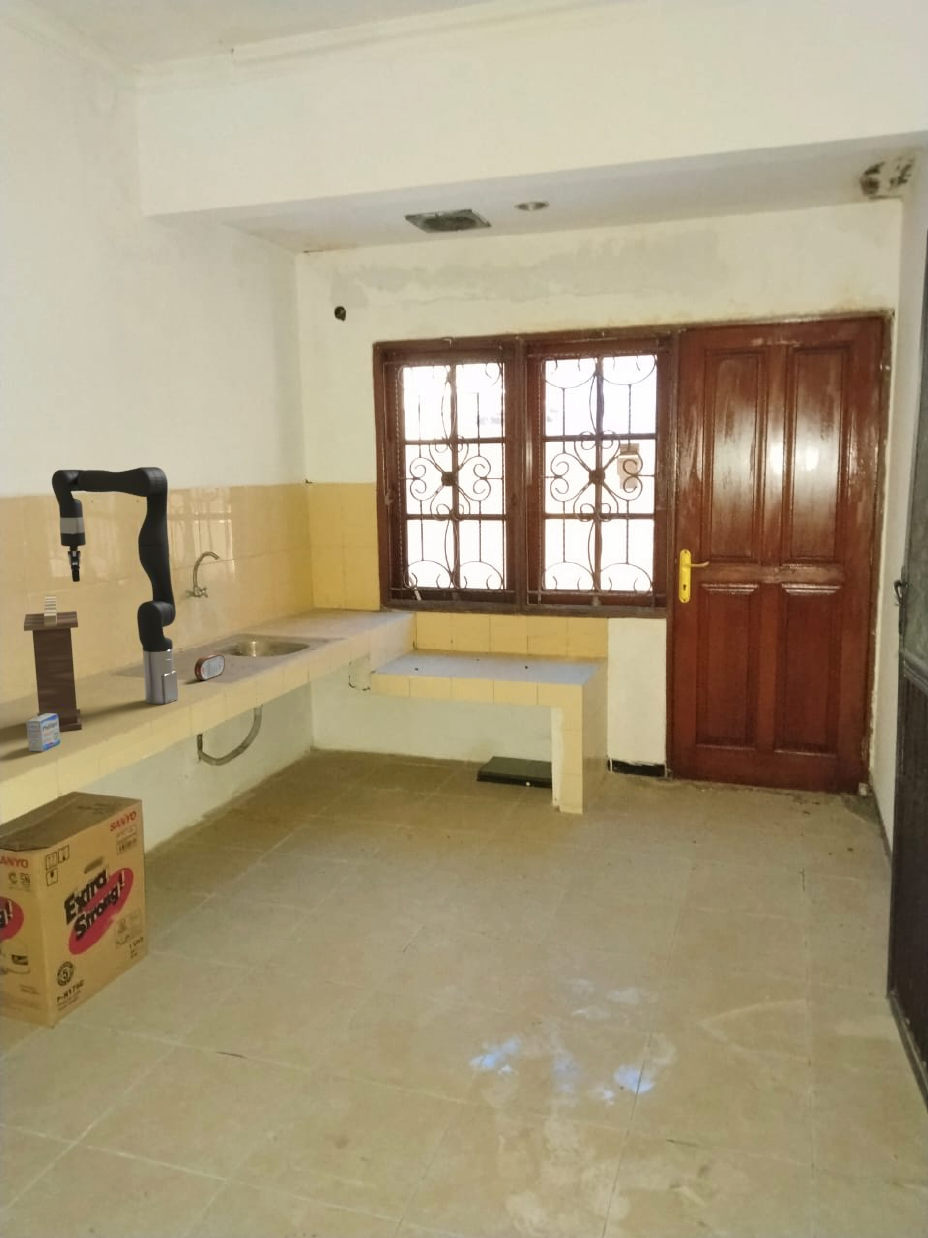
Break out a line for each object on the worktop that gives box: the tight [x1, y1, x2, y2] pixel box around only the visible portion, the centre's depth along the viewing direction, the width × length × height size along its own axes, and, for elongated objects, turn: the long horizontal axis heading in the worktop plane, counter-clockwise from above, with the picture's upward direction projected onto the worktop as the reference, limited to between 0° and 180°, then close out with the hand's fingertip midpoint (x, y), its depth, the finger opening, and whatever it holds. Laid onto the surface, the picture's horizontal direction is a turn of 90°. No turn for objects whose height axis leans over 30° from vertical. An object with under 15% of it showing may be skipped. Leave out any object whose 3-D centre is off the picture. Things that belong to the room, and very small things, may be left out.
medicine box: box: [25, 713, 61, 753], centre depth 249 cm, size 8×4×9 cm, turn 170°
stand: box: [23, 610, 83, 733], centre depth 268 cm, size 20×14×32 cm
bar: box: [43, 594, 58, 627], centre depth 271 cm, size 40×3×3 cm, turn 24°
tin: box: [194, 652, 226, 681], centre depth 327 cm, size 15×3×8 cm, turn 159°
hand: (76, 579), depth 301 cm, fingers open, 8 cm apart
